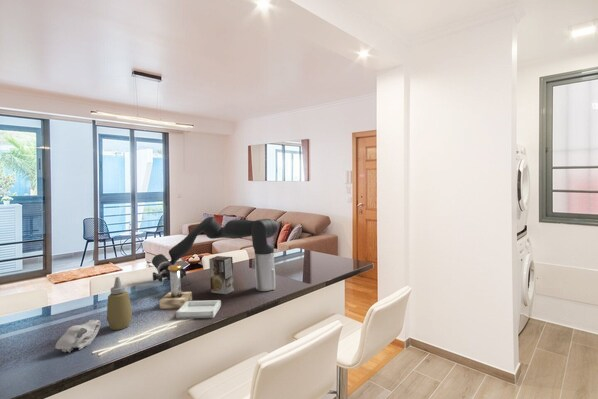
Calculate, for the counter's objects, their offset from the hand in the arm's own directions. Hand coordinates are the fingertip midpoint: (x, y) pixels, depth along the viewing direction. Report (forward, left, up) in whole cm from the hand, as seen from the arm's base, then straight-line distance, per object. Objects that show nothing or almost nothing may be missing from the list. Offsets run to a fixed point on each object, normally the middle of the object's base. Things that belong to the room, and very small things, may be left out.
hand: (171, 277), depth 147 cm
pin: (-5, +7, -9) cm, 13 cm away
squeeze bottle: (+7, +29, -9) cm, 32 cm away
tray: (-18, +17, -9) cm, 26 cm away
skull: (+12, +43, -10) cm, 46 cm away
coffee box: (-21, -8, -10) cm, 24 cm away
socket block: (-5, +7, -9) cm, 13 cm away
